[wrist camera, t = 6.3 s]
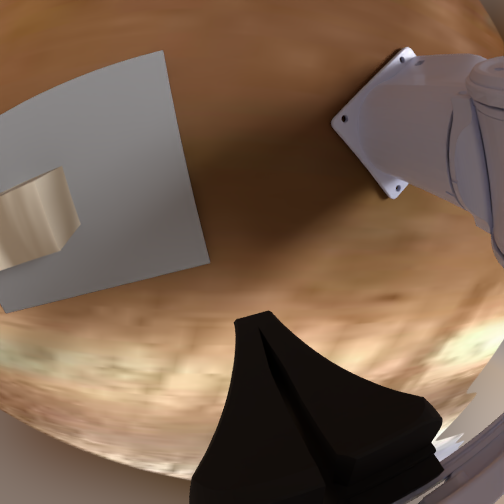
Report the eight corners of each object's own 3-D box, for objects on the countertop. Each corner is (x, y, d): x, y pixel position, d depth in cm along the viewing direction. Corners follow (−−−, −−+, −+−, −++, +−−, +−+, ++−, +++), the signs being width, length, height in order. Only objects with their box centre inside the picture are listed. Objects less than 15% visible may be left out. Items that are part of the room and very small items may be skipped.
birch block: (35, 180, 12) (-60, 229, 11) (60, 251, 14) (-37, 284, 13) (62, 165, 16) (-30, 208, 15) (80, 224, 18) (-11, 256, 17)
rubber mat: (163, 51, 15) (162, 50, 14) (209, 259, 21) (210, 263, 21) (-53, 152, 13) (-57, 153, 12) (8, 310, 19) (5, 313, 19)
